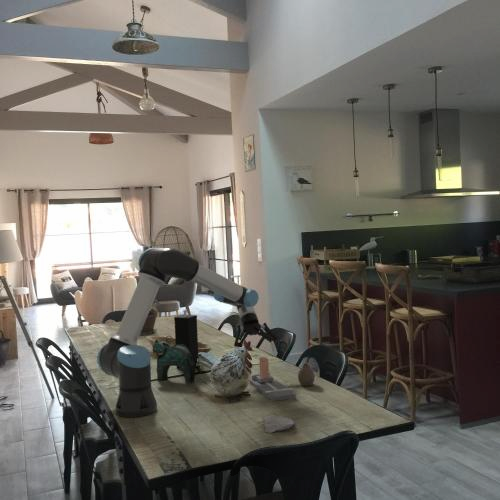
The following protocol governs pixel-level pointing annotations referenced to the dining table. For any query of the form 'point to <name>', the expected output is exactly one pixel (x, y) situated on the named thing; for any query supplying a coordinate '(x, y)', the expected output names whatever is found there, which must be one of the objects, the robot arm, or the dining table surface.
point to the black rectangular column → (187, 333)
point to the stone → (277, 423)
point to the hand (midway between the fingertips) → (261, 357)
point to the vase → (306, 375)
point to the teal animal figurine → (173, 360)
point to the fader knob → (264, 371)
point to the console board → (272, 389)
